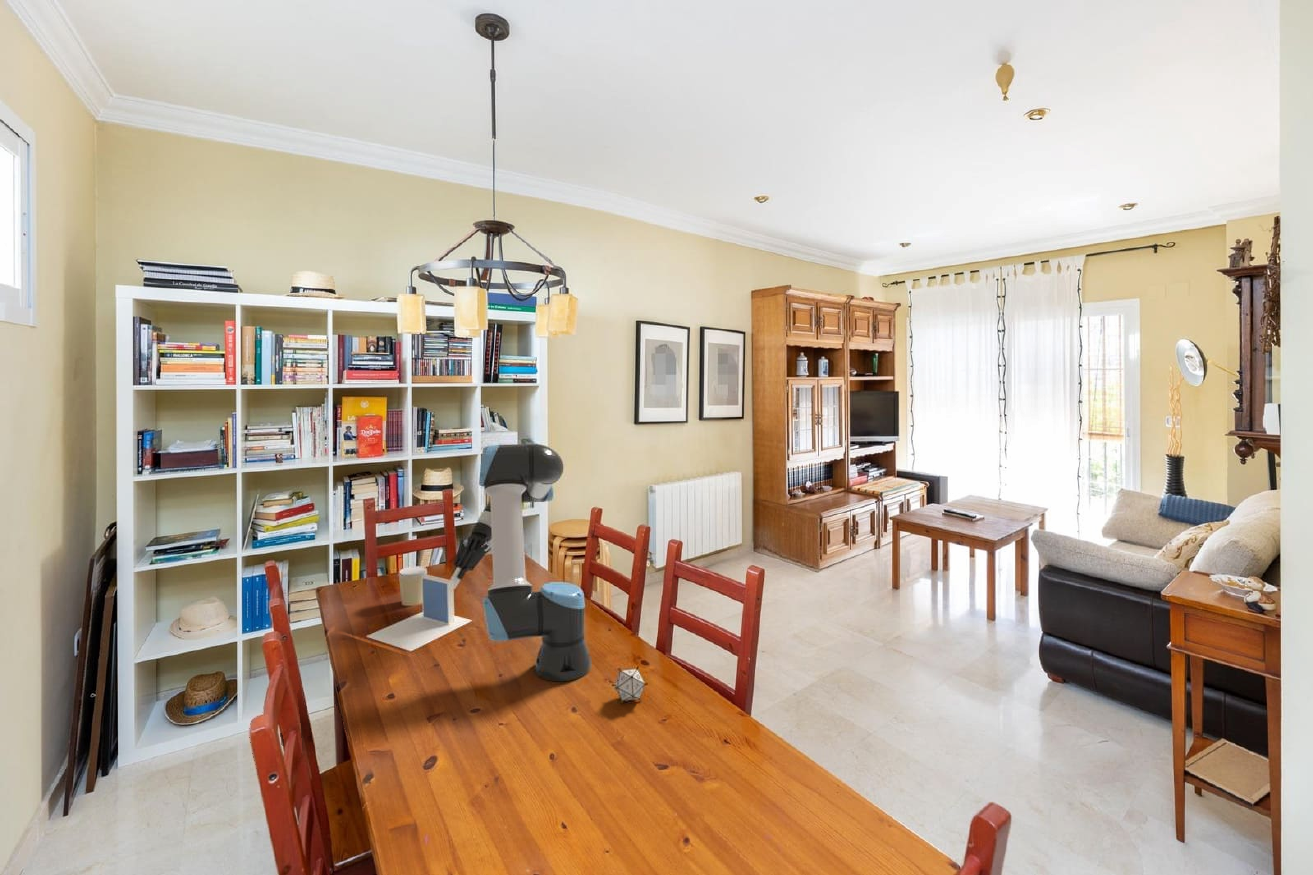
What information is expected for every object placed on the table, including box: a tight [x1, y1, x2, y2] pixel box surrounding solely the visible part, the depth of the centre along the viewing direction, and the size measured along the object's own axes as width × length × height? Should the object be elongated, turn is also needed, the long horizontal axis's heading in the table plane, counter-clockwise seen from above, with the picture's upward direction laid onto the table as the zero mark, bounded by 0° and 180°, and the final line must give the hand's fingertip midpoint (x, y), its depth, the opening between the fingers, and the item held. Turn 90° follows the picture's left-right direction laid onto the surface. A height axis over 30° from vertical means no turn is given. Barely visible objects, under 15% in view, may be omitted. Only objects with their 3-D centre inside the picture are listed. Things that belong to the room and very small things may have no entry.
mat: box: [365, 611, 473, 652], centre depth 180 cm, size 20×24×1 cm
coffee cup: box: [398, 565, 428, 607], centre depth 201 cm, size 9×9×12 cm
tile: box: [421, 574, 455, 625], centre depth 186 cm, size 12×2×14 cm, turn 63°
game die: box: [611, 665, 649, 704], centre depth 142 cm, size 9×8×10 cm
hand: (451, 586), depth 191 cm, fingers closed
